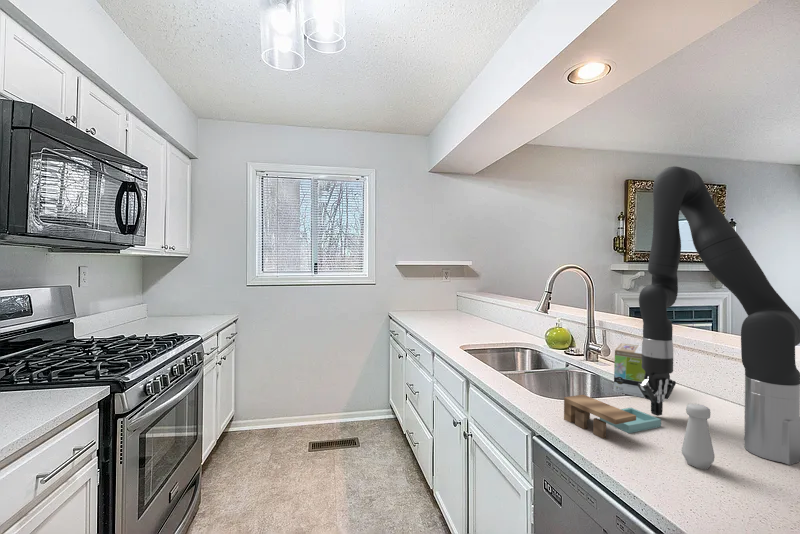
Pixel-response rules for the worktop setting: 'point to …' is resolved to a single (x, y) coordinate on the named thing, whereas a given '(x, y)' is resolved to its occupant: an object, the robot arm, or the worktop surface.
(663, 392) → the robot arm
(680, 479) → the worktop surface
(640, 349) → the tea box
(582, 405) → the shelf
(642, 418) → the tray
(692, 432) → the salt shaker
